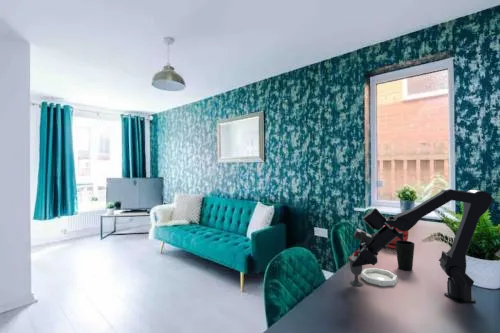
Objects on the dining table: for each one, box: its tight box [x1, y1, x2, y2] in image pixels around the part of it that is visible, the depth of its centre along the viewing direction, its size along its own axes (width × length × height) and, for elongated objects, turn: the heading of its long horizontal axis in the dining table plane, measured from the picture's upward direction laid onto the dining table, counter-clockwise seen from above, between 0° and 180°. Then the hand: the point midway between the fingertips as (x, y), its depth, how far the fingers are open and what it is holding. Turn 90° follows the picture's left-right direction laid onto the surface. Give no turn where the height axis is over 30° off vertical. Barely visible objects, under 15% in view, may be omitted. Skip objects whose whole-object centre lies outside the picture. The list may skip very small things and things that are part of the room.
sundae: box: [347, 247, 364, 287], centre depth 106 cm, size 7×7×15 cm
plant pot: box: [382, 224, 409, 250], centre depth 154 cm, size 13×13×12 cm
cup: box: [395, 240, 415, 272], centre depth 121 cm, size 8×8×12 cm
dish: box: [360, 267, 398, 287], centre depth 110 cm, size 13×13×2 cm
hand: (352, 263), depth 107 cm, fingers closed on sundae, 7 cm apart
